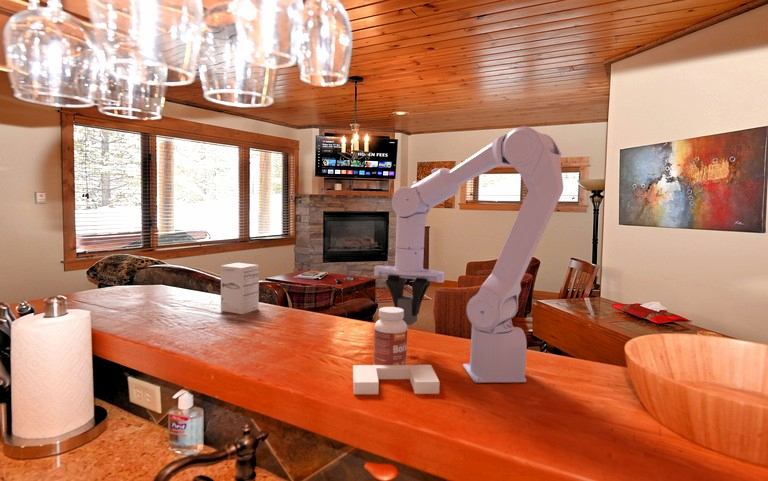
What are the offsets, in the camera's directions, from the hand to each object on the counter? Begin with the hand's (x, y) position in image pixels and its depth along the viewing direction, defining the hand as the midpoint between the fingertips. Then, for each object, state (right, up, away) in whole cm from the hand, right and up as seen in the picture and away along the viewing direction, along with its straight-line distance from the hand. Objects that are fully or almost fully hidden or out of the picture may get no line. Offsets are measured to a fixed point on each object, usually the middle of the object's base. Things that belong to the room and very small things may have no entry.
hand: (407, 313), depth 93 cm
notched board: (-3, -10, -15) cm, 18 cm away
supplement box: (-44, -4, +31) cm, 54 cm away
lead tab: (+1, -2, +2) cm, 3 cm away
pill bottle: (-4, -9, -7) cm, 12 cm away
